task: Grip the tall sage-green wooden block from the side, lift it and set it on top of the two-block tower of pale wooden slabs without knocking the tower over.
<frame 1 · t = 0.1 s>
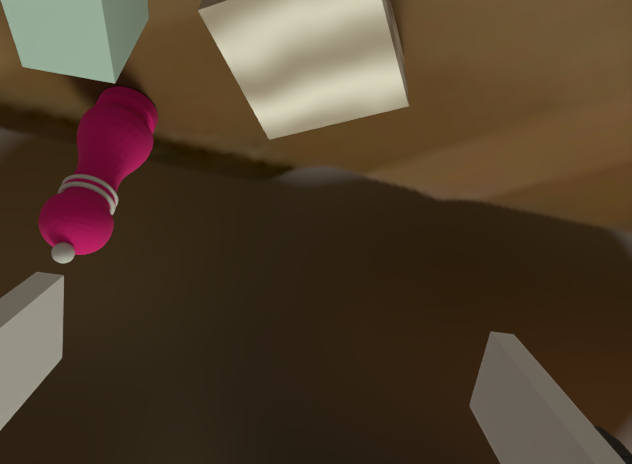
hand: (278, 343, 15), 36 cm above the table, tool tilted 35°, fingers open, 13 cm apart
top block: (313, 34, 42), point 4 cm above the table
pepper mill: (129, 108, 54), on the table
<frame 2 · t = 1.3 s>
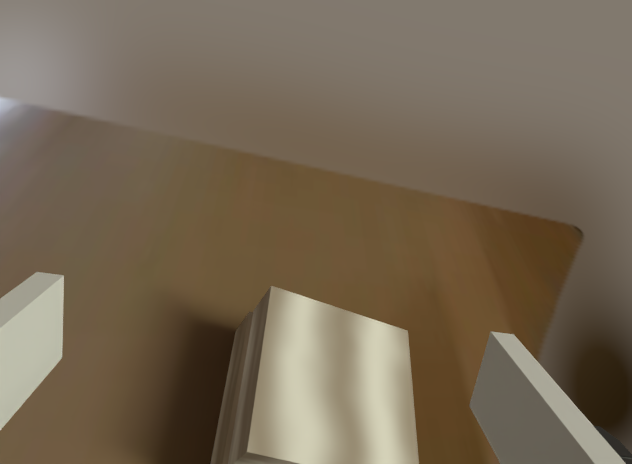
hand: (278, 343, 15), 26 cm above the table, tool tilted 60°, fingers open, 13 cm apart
top block: (317, 400, 40), point 3 cm above the table, touching bottom block
bottom block: (293, 420, 43), on the table, touching top block
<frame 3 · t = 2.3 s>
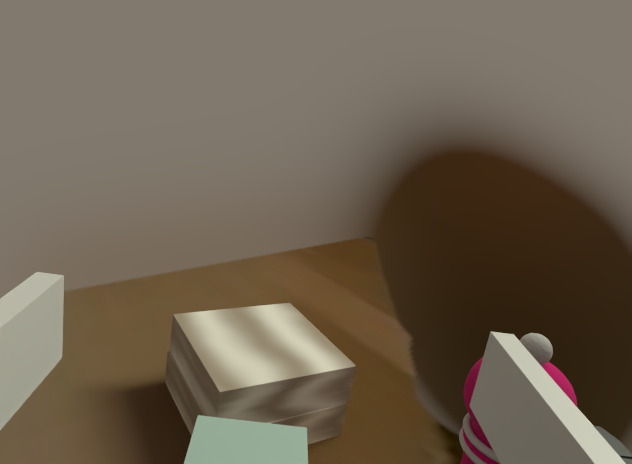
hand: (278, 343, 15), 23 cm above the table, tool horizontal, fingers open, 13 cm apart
top block: (255, 375, 48), point 3 cm above the table, touching bottom block
bottom block: (249, 411, 49), on the table, touching top block
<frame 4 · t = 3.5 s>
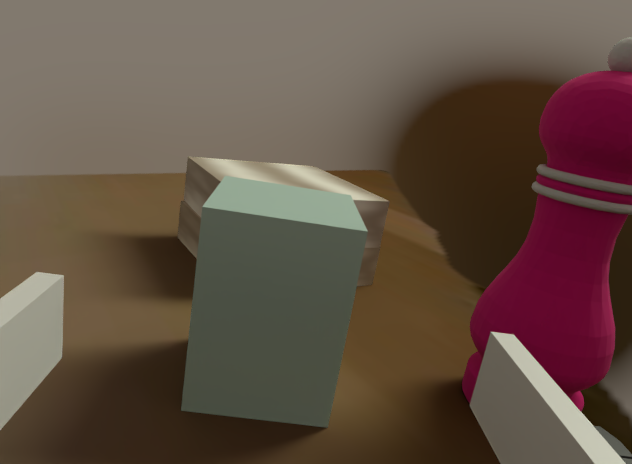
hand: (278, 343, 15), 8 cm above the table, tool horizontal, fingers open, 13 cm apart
top block: (277, 222, 44), point 3 cm above the table, touching bottom block
bottom block: (270, 265, 45), on the table, touching top block
pepper mill: (514, 406, 29), on the table
sage block: (260, 377, 27), on the table
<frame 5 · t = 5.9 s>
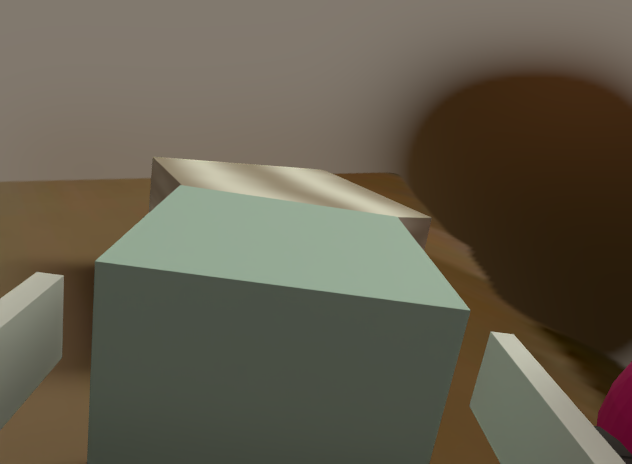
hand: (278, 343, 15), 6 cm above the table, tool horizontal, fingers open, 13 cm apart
top block: (273, 246, 32), point 3 cm above the table, touching bottom block
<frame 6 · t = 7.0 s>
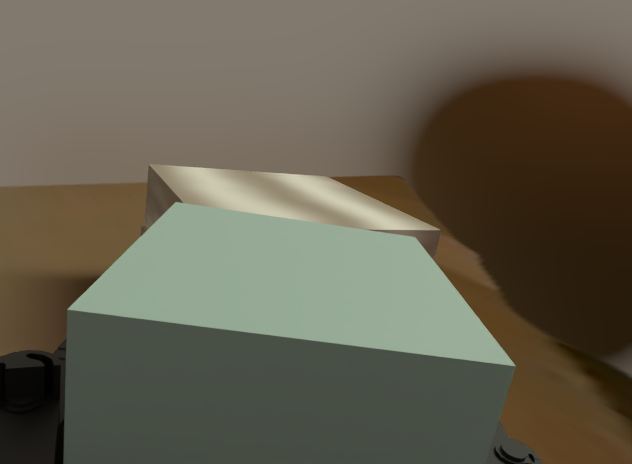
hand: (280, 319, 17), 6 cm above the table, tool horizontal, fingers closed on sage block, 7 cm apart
top block: (274, 258, 30), point 3 cm above the table, touching bottom block
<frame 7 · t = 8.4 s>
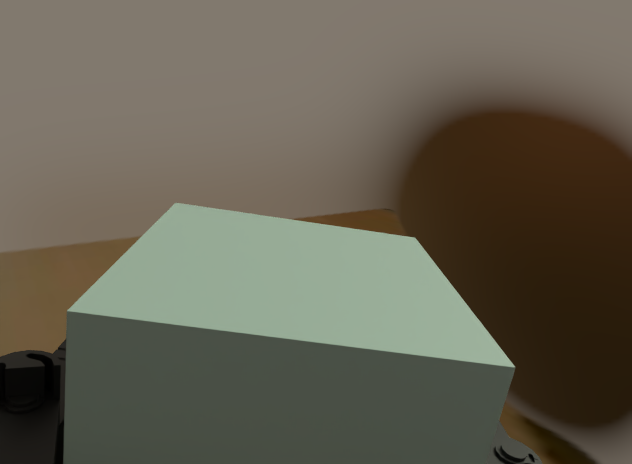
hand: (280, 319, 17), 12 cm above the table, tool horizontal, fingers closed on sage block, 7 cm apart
when the fingers open (14 cm above the table, at t = 15.1 s): sage block stays where it is, resting on top block.
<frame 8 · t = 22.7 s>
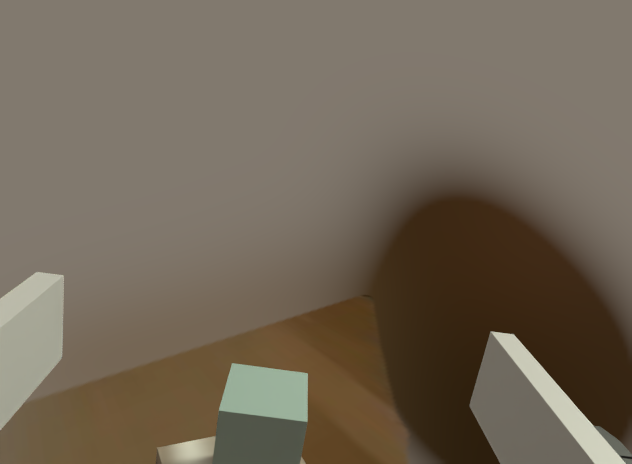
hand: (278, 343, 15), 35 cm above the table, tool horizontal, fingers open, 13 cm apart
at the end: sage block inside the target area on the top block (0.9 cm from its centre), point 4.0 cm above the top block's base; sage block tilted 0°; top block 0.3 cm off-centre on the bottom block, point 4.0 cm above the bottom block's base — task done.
